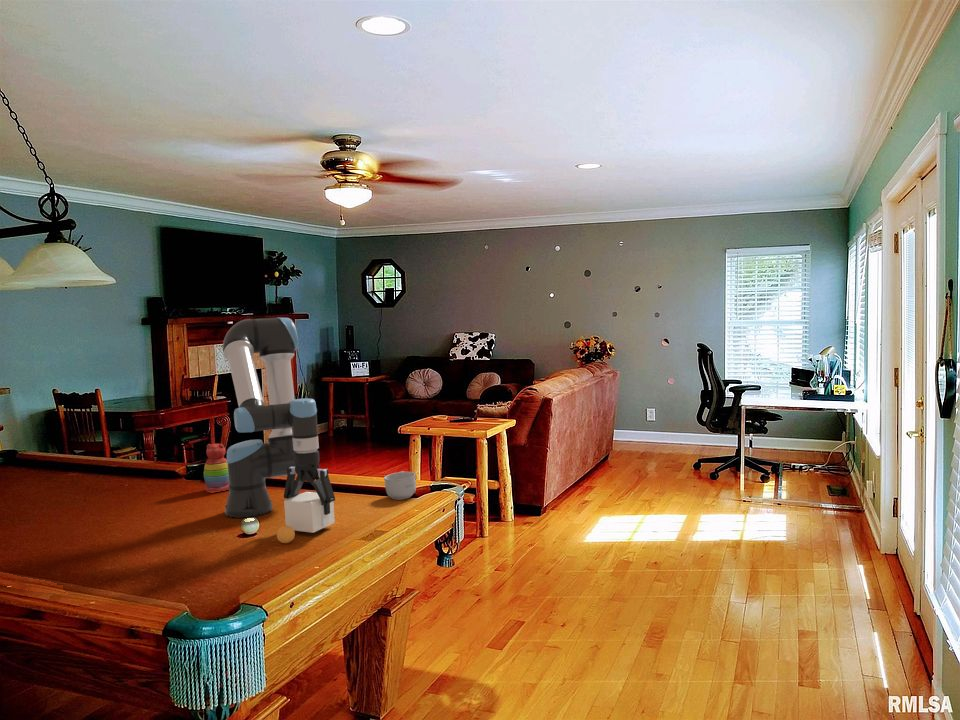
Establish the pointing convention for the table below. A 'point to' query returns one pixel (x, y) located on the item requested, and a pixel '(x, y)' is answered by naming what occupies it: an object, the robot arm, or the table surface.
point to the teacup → (400, 485)
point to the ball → (285, 534)
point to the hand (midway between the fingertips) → (310, 523)
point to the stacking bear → (216, 468)
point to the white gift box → (306, 512)
